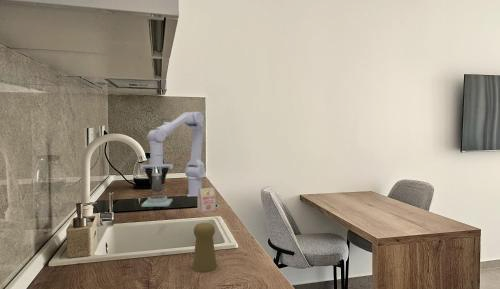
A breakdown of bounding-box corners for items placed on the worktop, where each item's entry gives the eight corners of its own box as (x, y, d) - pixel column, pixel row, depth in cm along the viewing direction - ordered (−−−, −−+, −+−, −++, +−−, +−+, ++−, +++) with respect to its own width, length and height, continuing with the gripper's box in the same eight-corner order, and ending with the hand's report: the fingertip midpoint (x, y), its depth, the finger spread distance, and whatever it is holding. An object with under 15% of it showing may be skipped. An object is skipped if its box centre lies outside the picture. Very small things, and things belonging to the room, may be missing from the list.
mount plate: (147, 201, 168) (147, 199, 168) (172, 200, 169) (172, 198, 168) (141, 206, 156) (141, 204, 156) (168, 206, 157) (168, 203, 157)
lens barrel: (153, 189, 164) (152, 173, 164) (163, 189, 165) (163, 172, 164) (150, 191, 159) (150, 174, 159) (161, 191, 160) (161, 174, 159)
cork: (190, 264, 88) (189, 222, 87) (212, 261, 90) (212, 219, 90) (196, 273, 82) (195, 228, 82) (220, 269, 85) (219, 225, 84)
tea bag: (197, 211, 146) (197, 188, 145) (212, 209, 149) (212, 186, 149) (200, 213, 143) (200, 189, 142) (215, 211, 146) (215, 187, 145)
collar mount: (150, 199, 166) (150, 195, 166) (168, 199, 167) (168, 195, 167) (146, 203, 158) (146, 199, 157) (165, 203, 158) (165, 198, 158)
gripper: (138, 156, 157) (139, 185, 157) (170, 155, 158) (171, 185, 158) (142, 155, 164) (143, 183, 164) (173, 154, 165) (173, 182, 165)
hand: (157, 184), depth 162 cm, fingers closed on lens barrel, 5 cm apart
